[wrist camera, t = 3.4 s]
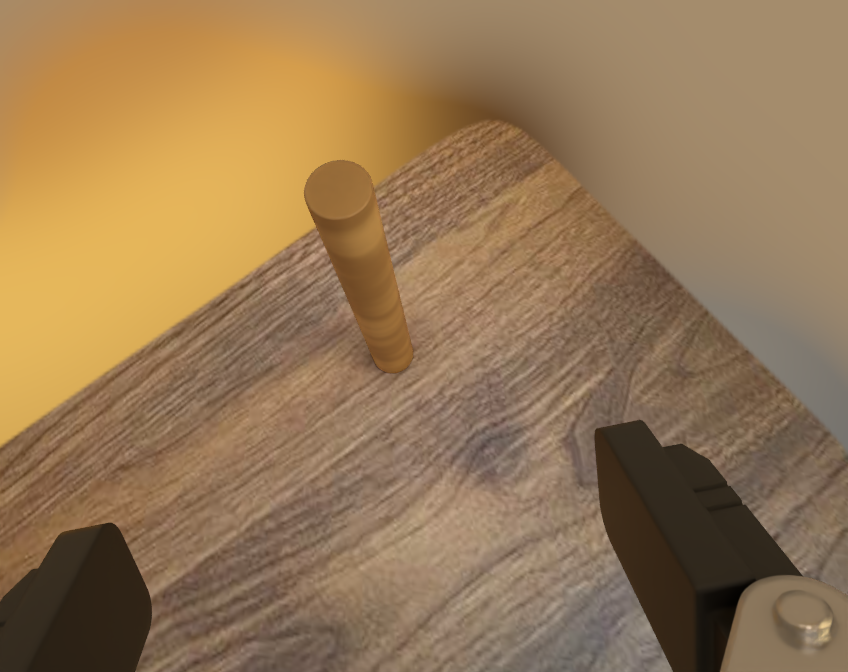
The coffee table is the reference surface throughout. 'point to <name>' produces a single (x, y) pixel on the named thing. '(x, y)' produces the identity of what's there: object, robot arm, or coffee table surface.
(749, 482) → the coffee table surface
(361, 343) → the coffee table surface
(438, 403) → the coffee table surface
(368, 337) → the stick
